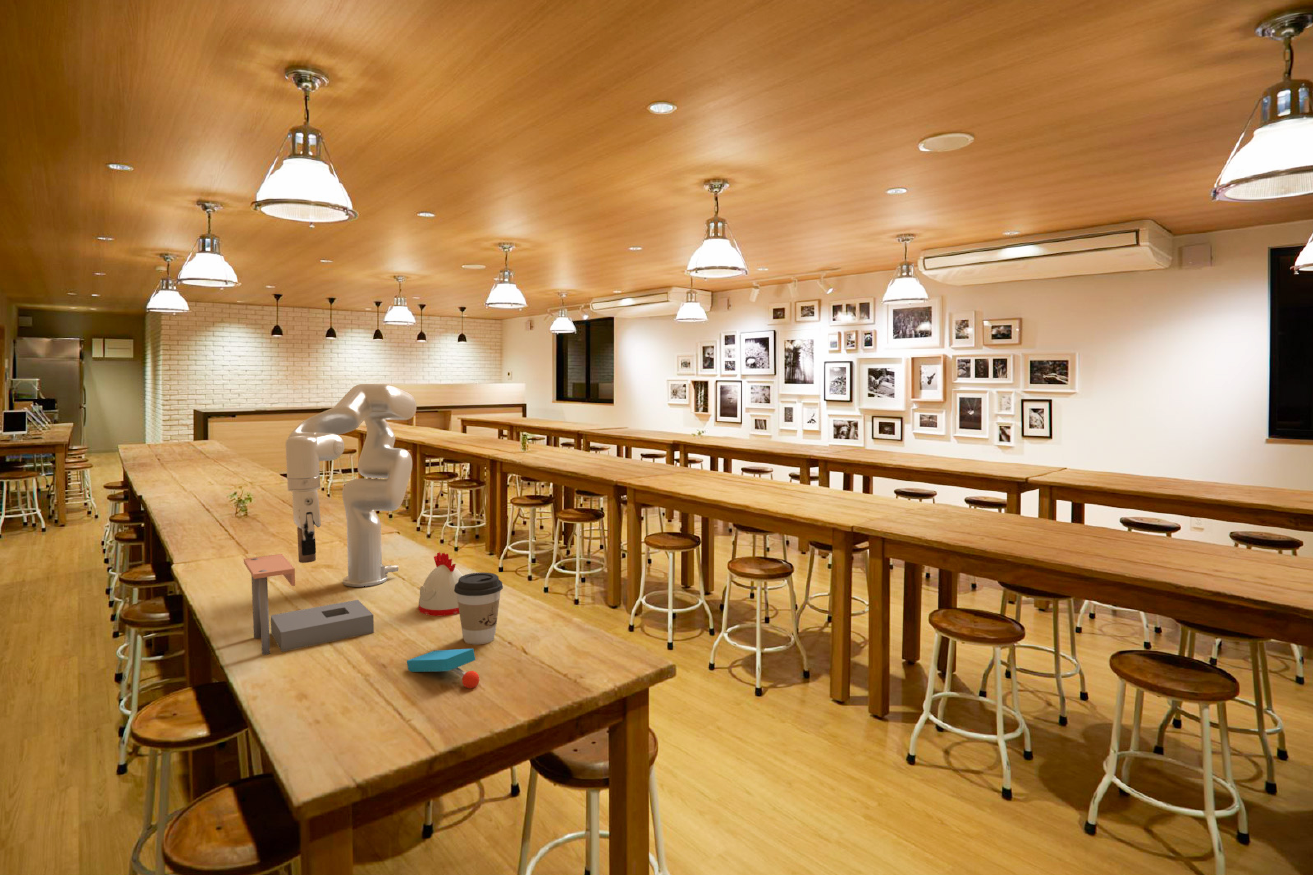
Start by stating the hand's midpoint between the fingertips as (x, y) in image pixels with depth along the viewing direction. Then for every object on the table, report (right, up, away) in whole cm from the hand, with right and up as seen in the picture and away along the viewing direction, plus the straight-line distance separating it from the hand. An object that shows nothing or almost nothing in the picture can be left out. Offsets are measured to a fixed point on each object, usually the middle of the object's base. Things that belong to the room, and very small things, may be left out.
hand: (307, 551), depth 178 cm
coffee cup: (+49, -19, -15) cm, 55 cm away
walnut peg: (0, -2, 0) cm, 2 cm away
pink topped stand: (+2, -18, -19) cm, 26 cm away
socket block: (+10, -18, -12) cm, 24 cm away
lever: (+48, -21, -35) cm, 63 cm away
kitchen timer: (+34, -17, +7) cm, 39 cm away
